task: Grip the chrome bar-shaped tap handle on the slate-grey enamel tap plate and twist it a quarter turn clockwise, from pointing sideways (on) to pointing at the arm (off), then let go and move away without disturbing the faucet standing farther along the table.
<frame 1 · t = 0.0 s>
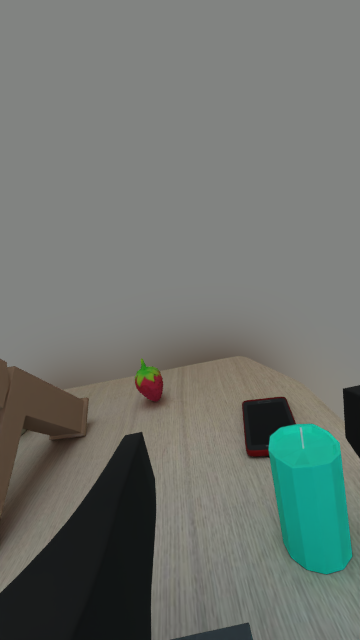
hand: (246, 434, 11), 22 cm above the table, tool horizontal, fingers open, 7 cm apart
cell phone: (269, 427, 48), on the table
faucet: (36, 479, 47), on the table
candle: (316, 543, 28), on the table
strawberry: (154, 403, 65), on the table
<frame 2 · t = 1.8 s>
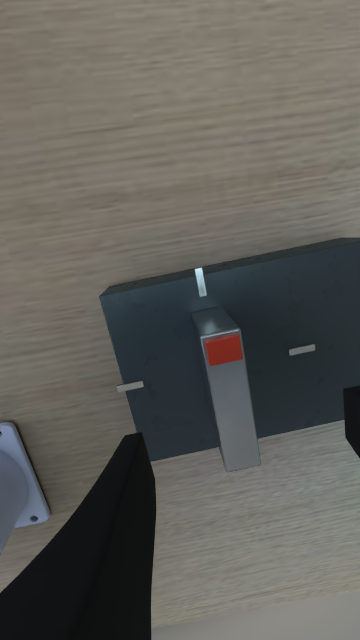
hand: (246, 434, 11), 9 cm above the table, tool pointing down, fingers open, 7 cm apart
tap handle: (224, 385, 14), point 5 cm above the table, hinge at 90.0°
tap plate: (238, 340, 19), on the table
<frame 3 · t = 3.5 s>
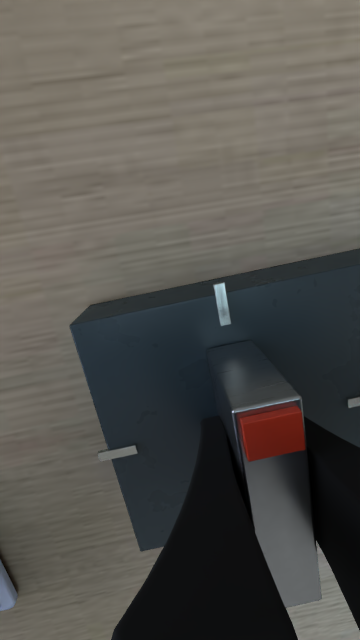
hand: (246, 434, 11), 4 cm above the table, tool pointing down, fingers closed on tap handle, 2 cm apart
tap handle: (259, 465, 9), point 5 cm above the table, hinge at 90.0°, touching gripper
tap plate: (266, 376, 14), on the table
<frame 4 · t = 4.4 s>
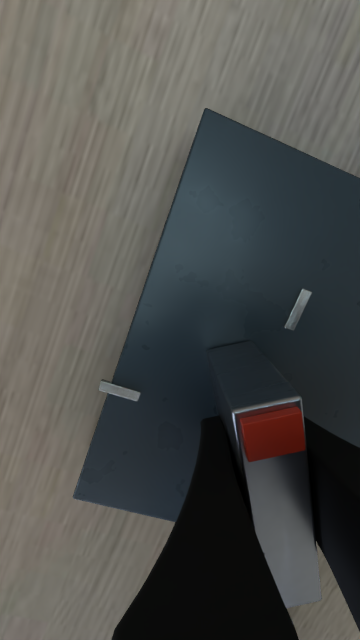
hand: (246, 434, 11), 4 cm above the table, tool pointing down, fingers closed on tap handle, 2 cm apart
tap handle: (259, 465, 9), point 5 cm above the table, hinge at 31.5°, touching gripper
tap plate: (241, 347, 14), on the table
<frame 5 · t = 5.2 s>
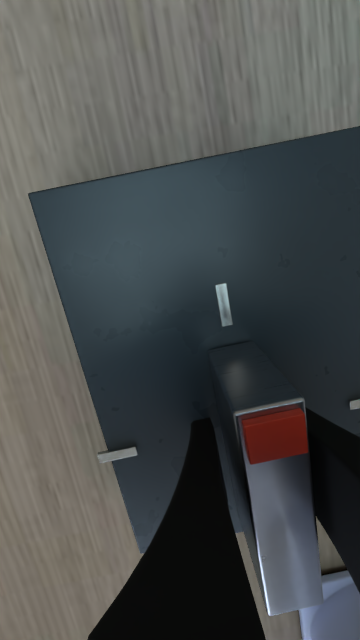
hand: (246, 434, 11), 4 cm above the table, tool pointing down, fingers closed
tap handle: (261, 467, 9), point 5 cm above the table, hinge at 0.2°
tap plate: (218, 346, 13), on the table
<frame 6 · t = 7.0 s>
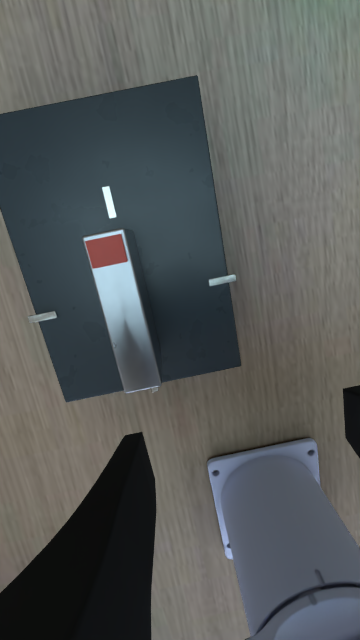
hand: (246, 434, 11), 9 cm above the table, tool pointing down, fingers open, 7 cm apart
tap handle: (128, 307, 13), point 5 cm above the table, hinge at 0.2°
tap plate: (129, 255, 18), on the table
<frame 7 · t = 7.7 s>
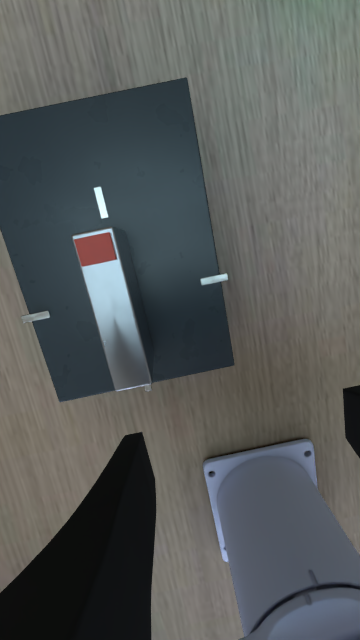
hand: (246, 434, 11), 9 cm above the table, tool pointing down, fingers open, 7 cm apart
tap handle: (120, 305, 14), point 5 cm above the table, hinge at 0.2°
tap plate: (123, 256, 18), on the table
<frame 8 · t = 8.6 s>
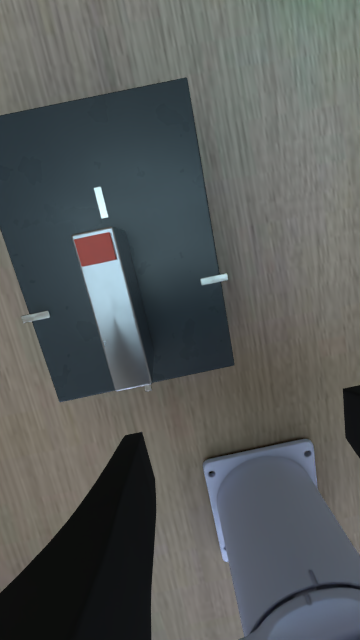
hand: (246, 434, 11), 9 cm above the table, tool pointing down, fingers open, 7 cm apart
tap handle: (120, 305, 14), point 5 cm above the table, hinge at 0.2°
tap plate: (123, 256, 18), on the table
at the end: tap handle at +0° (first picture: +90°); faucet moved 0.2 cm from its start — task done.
